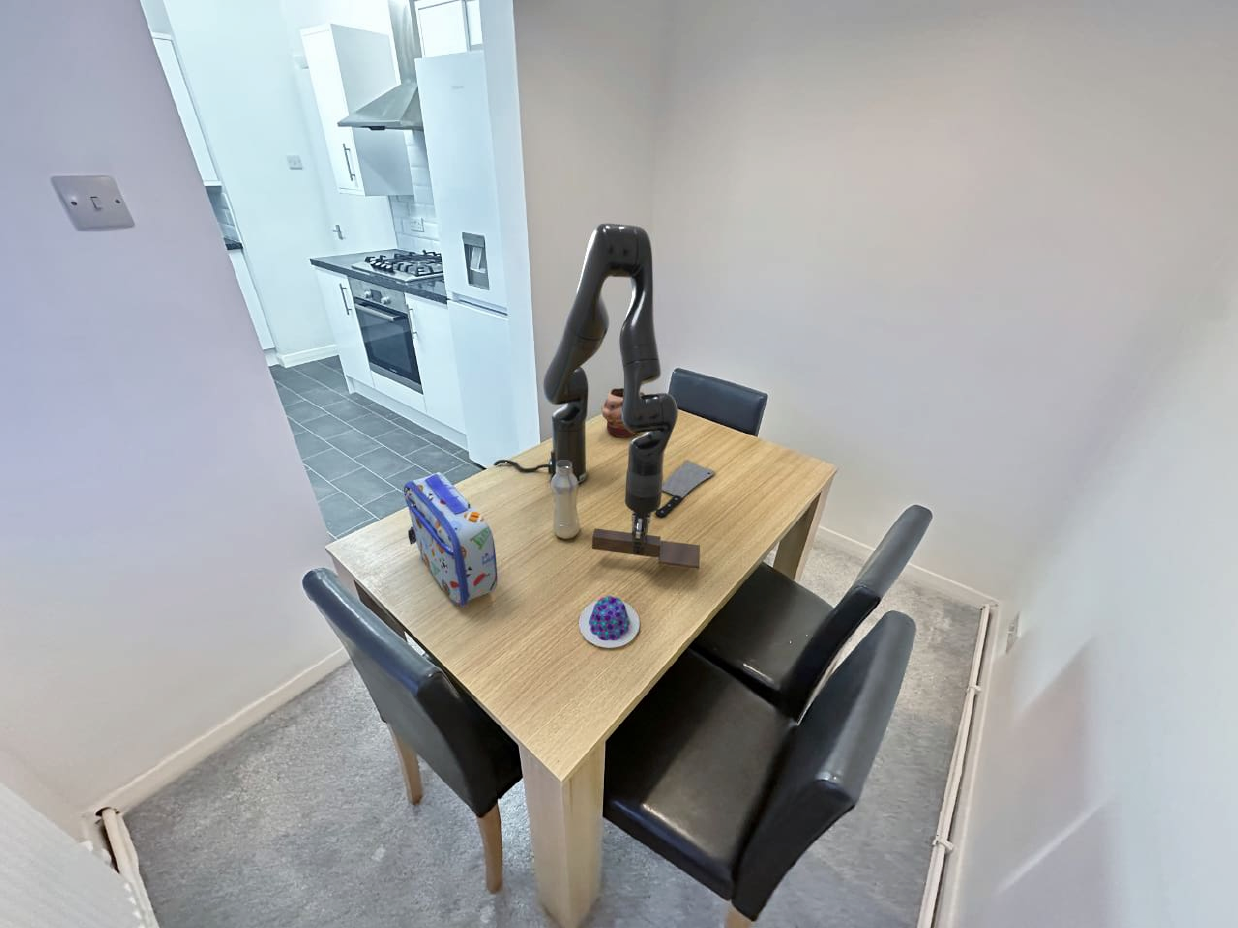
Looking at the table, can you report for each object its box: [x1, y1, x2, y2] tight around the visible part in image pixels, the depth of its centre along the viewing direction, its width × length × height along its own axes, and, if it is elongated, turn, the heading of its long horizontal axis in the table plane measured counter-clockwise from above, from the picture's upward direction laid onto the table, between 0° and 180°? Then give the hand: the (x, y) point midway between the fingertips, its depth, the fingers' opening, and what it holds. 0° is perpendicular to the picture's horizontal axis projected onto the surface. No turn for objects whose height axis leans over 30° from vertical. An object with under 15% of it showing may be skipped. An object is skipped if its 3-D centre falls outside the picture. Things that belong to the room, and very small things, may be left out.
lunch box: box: [403, 471, 498, 607], centre depth 103 cm, size 28×10×22 cm, turn 42°
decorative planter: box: [600, 387, 645, 438], centre depth 166 cm, size 20×12×14 cm, turn 143°
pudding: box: [578, 595, 641, 649], centre depth 96 cm, size 12×12×5 cm
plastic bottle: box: [550, 460, 581, 540], centre depth 116 cm, size 6×7×20 cm
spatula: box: [591, 527, 701, 570], centre depth 109 cm, size 24×7×4 cm, turn 82°
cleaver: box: [655, 460, 714, 518], centre depth 139 cm, size 29×1×10 cm
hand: (639, 548), depth 110 cm, fingers closed on spatula, 3 cm apart
